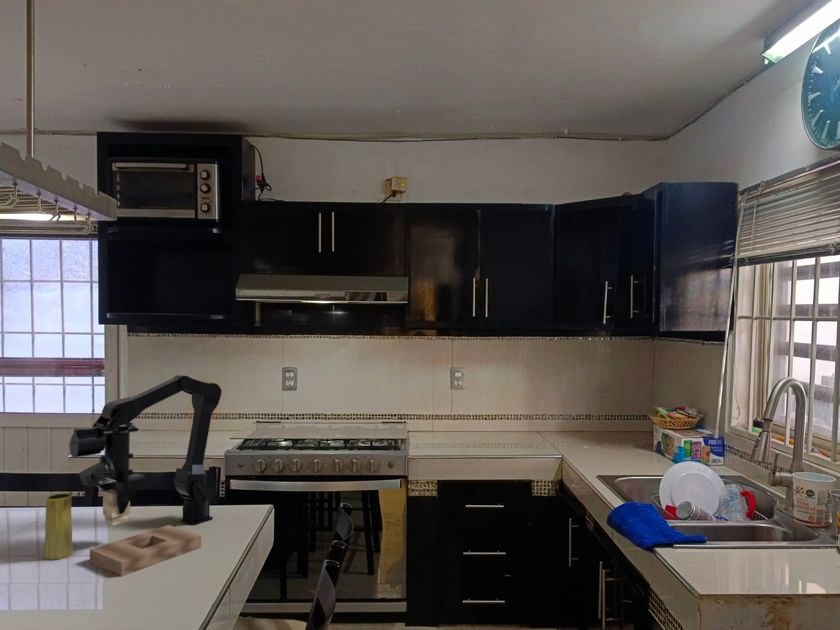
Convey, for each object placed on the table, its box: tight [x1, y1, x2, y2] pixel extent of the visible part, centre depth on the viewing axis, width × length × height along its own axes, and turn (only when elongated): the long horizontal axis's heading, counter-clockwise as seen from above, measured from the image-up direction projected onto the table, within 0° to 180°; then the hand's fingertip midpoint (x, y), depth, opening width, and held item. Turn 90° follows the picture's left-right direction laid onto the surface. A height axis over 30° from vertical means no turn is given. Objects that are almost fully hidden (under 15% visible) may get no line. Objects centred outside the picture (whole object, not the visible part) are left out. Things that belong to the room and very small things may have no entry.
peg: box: [102, 490, 131, 526], centre depth 145 cm, size 4×4×8 cm
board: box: [89, 524, 202, 577], centre depth 137 cm, size 20×14×3 cm
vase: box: [42, 492, 74, 561], centre depth 137 cm, size 6×6×14 cm
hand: (116, 511), depth 145 cm, fingers closed on peg, 4 cm apart
